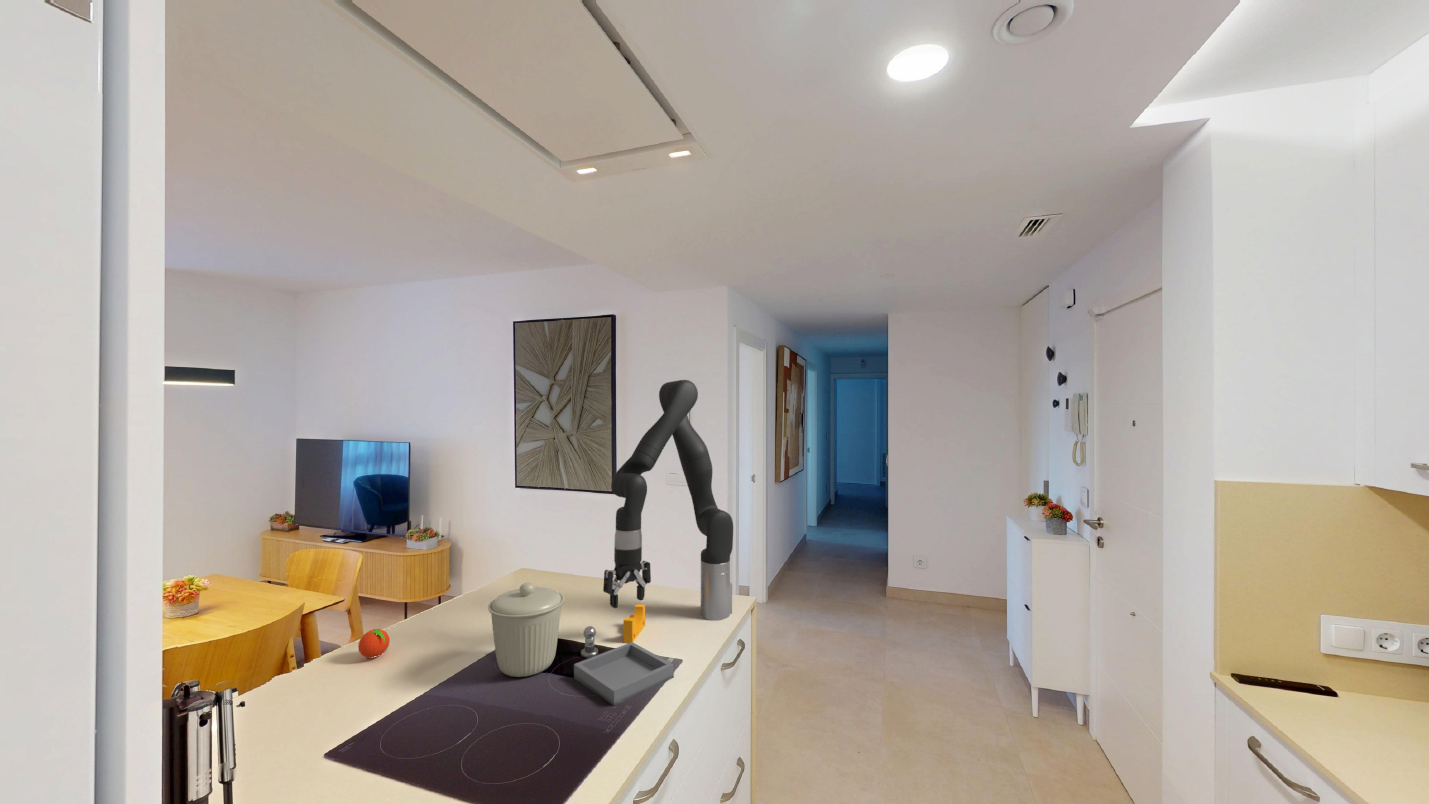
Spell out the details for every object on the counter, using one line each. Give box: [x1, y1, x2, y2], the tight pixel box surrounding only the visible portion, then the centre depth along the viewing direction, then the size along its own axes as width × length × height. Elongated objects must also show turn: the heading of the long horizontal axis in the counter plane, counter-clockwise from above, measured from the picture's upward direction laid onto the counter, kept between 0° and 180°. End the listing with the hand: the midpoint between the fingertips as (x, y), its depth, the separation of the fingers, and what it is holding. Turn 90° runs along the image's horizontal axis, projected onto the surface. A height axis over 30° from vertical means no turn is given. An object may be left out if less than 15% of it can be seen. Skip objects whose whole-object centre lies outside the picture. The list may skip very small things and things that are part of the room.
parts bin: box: [573, 642, 675, 706], centre depth 128 cm, size 17×17×4 cm
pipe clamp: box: [623, 603, 646, 644], centre depth 153 cm, size 12×4×6 cm, turn 171°
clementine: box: [358, 628, 391, 658], centre depth 139 cm, size 8×7×7 cm
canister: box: [487, 582, 565, 678], centre depth 133 cm, size 18×18×21 cm
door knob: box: [580, 625, 599, 659], centre depth 140 cm, size 4×4×7 cm
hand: (627, 603), depth 147 cm, fingers open, 8 cm apart
